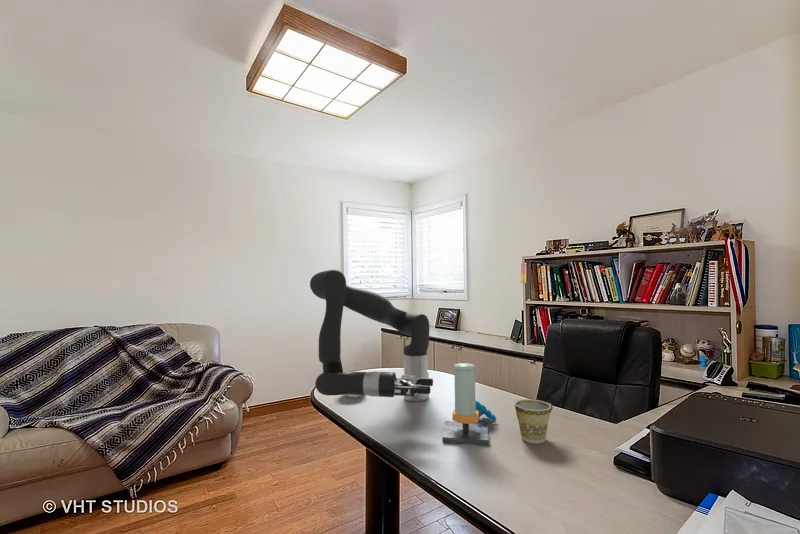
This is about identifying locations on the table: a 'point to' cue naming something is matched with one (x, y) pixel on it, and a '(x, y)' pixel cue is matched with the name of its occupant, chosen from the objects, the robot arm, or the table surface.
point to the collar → (465, 418)
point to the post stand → (465, 433)
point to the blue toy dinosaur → (484, 411)
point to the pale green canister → (465, 389)
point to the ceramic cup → (533, 419)
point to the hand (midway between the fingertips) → (431, 385)
